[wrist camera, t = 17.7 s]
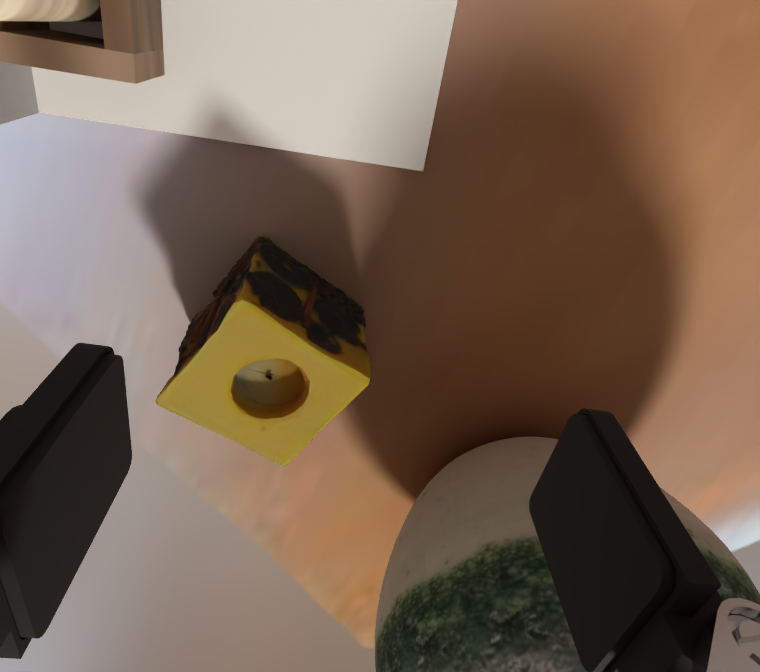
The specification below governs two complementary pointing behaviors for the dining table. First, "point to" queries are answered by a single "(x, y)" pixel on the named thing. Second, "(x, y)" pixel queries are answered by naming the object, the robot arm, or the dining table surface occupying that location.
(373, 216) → the dining table surface
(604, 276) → the dining table surface
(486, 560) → the vase
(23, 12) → the dowel
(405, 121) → the board
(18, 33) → the brown square wooden frame
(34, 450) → the robot arm
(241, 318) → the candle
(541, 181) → the dining table surface
